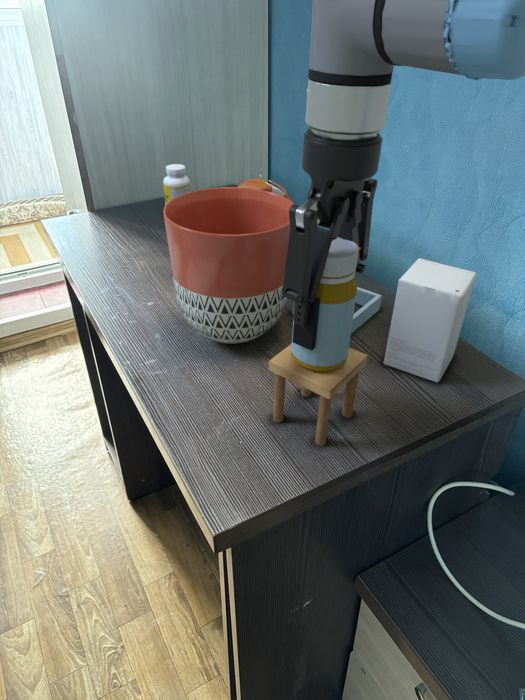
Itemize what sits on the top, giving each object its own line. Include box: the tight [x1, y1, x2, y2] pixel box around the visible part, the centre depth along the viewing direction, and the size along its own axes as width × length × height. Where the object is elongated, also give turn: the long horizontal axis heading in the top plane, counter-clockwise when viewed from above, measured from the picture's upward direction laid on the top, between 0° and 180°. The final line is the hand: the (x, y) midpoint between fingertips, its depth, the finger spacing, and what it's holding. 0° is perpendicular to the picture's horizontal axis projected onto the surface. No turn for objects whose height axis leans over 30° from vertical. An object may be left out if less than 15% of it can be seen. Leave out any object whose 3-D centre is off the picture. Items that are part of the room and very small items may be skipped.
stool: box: [268, 343, 369, 447], centre depth 68 cm, size 9×9×10 cm
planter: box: [162, 186, 296, 345], centre depth 81 cm, size 20×20×21 cm
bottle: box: [291, 237, 359, 372], centre depth 61 cm, size 7×7×15 cm
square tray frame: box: [291, 286, 383, 335], centre depth 93 cm, size 12×12×3 cm
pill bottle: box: [162, 163, 191, 205], centre depth 128 cm, size 6×6×12 cm
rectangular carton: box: [383, 257, 478, 383], centre depth 78 cm, size 9×9×15 cm
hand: (321, 330), depth 63 cm, fingers closed on bottle, 7 cm apart
